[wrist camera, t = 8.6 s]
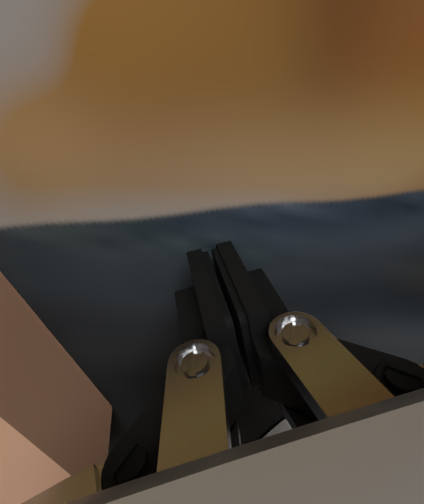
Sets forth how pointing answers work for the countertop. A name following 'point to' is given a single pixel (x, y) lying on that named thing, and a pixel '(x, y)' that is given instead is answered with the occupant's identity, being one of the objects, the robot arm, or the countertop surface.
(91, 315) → the countertop surface
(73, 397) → the t block
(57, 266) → the countertop surface
